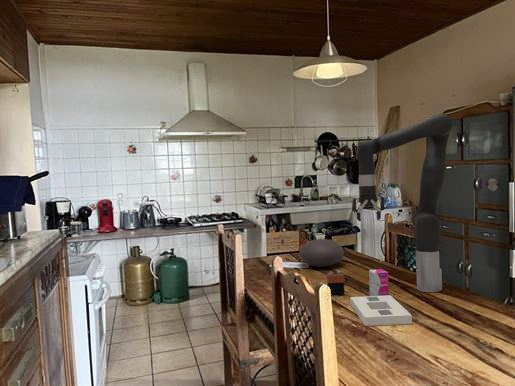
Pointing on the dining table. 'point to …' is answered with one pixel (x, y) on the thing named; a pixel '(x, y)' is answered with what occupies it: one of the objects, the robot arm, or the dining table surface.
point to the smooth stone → (321, 252)
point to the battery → (336, 282)
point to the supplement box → (378, 282)
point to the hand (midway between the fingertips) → (368, 220)
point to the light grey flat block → (380, 310)
